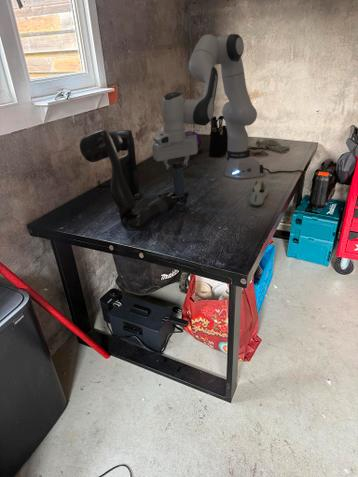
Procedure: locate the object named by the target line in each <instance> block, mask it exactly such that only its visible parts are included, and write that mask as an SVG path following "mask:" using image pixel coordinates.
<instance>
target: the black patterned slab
mask: <svg viewBox="0 0 358 477" xmlns="http://www.w3.org/2000/svg"><path fill="white" fill-rule="evenodd" d="M216 119H217V121H216V123H215V126H214V128H213V129H214V130H213V129H212V131H211V130H210V132H211V139H210V138H209V139H210V140H209V149H208V156H210V157H214V158H222V157H224V156H226V152H227V148H228V136H227V129H226V125H223V122H224V121H225V119H224V117H223V115H219V117H217V118H216ZM216 124H218V128H217V129H215V128H216Z"/></svg>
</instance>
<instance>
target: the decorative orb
mask: <svg viewBox="0 0 358 477" xmlns="http://www.w3.org/2000/svg"><path fill="white" fill-rule="evenodd" d="M186 133H195V134H196V135H197V146H198V150H199V149H200V147H201V145H202V140H201V137H200V135H199V134H198V133H197V132H195V131H192V130H187V131H185V134H186ZM195 134H194V135H195Z"/></svg>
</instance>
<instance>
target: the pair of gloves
mask: <svg viewBox="0 0 358 477" xmlns="http://www.w3.org/2000/svg"><path fill="white" fill-rule="evenodd" d="M255 145H257V146H253V145H248V147H247V149H249V150H251V151H252V152H253V154H252V155H250V156H252V157H254V156H258V155H265V156H268V155H269V153H268V152H267V151H266V150H271V151H274V152H277V153H279V154H280V153H281V154H283V153H287V152H289V151H290V150H291V147H289V146H283V145H281V144H280V143H279V142H277V141H276V140H274V139H271V138H270V139H265V140H262V141H260V140H258V139H257V140H256V142H255Z"/></svg>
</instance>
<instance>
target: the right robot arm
mask: <svg viewBox="0 0 358 477" xmlns="http://www.w3.org/2000/svg"><path fill="white" fill-rule="evenodd" d="M244 47H245V45H244V40H243V38H242V36H240V34H237V33H230V34H226V35H220V36H219V35H218V36H215V35H213V34H210V33H207V34H204V35H202V36H201V37H200V38H199V40H198V41H197V42H196V44H195V46H194V49H193V51H192V53H191V56H190V59H189V62H188V69H189V73H190V75H191V76H192V77H193V78H194V79H195V80H197V81H198V82H200V83H202V84H204V90H203V95H202V97H201V98H198V99H195V98H194V99H192V98H191V99H189V98H185V97H183V95H182V93H181V92H176V91H175V92H169V93H166V94H165V95H164V96H163V97H162V104H161V105H162V106H161V110H162V111H161V112H162V119H163V131H161V132H159V133H158V134H155V135H154V136H153V137H152V140H153V144H152V160H154V161H156V162H162V163H163V164H164V165H165V170H167V171H168V170H171V164H168V161H169V160H173V159H178V158H184V160H183V161H182V162H183V167H187V166H188V162H189V160H190V156H195V155H197V154H198V152H199V149H198V146H197V135H196V134H195V133H196V132H195V133H186V134H185V132H186V126H185V124H186V125H187V124H189V125H197V126H202V127H204V126H207V125H208V124H210V122H211V120H212V118H213V117H214V110H215V101H216V95H217V87H218V82H219V74H218V73H219V72H218V69H217V68H216V67H215V66H216V65H220V72H221V79H222V85H223V92H224V95H225V96H226V97H227V100H228V101H227V102H225V103H224V104H223V106H222V109H221V114H222V115H221V116H223V117H224V119H225V120H224V119H223V120H224V123H225V126H226V129H227V136H228V148H227V152H226V154H225V159H226V165H225V169H224V172H223V174H224V176H225V177H228V178H232V179H233V178H234V179H237V180H243V179H250V178H258V177H259V178H260V177H263V176H264V175H265V172H264V170H265V171H267V172H268V173H269V174H277V173H298V172H300V173H302V174H305V171H304V170H301V169H297V170H295V169H294V170H277V171H270V169H268V168H265V167H264V165H263V164H260V162H259V161H258V160H257V159H256V158H255V157H254V156H251V155H252V154H253V152H252V151H251V150H249V149H247V147H248V146H249V144H248V143H249V134H248V132H247V129H246V127H249V126H251V125H253V124H255V121H256V120H257V116H258V112H257V109H256V108H255V106H254V105H253V102H252V101H251V97H250V94H249V92H248V88H247V83H246V76H245V68H244V63H243V59H242V56H243V54H244V49H245V48H244ZM194 134H195V135H194Z"/></svg>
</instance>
